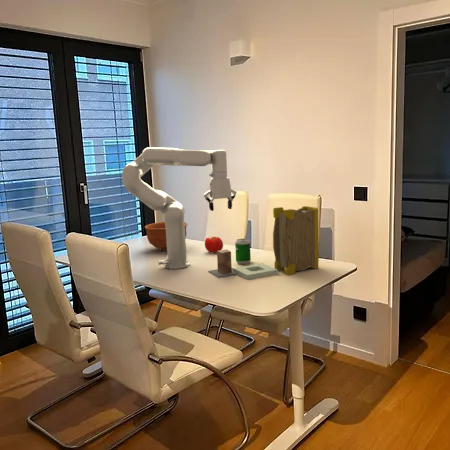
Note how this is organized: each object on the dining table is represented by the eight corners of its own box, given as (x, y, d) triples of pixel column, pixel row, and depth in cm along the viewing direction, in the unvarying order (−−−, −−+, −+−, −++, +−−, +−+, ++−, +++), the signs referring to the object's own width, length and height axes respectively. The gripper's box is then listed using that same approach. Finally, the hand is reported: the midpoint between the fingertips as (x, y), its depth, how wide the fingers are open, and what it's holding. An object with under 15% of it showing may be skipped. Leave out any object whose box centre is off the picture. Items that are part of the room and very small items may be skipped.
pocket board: (247, 279, 212) (247, 275, 212) (233, 272, 225) (233, 268, 225) (277, 273, 219) (277, 269, 219) (262, 267, 232) (262, 263, 231)
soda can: (252, 261, 243) (252, 238, 241) (247, 265, 237) (246, 241, 235) (239, 260, 246) (238, 238, 244) (233, 264, 240) (232, 241, 238)
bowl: (179, 255, 264) (177, 228, 262) (138, 253, 271) (136, 228, 269) (194, 245, 288) (193, 221, 285) (156, 244, 295) (155, 220, 292)
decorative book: (307, 264, 234) (306, 203, 228) (320, 269, 224) (320, 206, 218) (272, 270, 225) (270, 208, 220) (285, 275, 215) (283, 210, 210)
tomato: (206, 255, 261) (206, 240, 259) (203, 251, 271) (202, 236, 270) (225, 253, 263) (224, 238, 262) (221, 249, 274) (220, 234, 272)
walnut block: (222, 273, 221) (221, 252, 219) (217, 271, 225) (216, 250, 224) (231, 272, 223) (230, 251, 221) (227, 269, 227) (226, 249, 226)
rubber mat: (218, 278, 216) (218, 276, 216) (208, 272, 227) (208, 270, 227) (242, 273, 221) (241, 272, 221) (230, 268, 232) (230, 267, 232)
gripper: (205, 176, 227) (207, 212, 230) (238, 174, 233) (239, 209, 236) (200, 176, 233) (202, 210, 236) (232, 173, 240) (233, 207, 243)
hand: (220, 209), depth 236 cm, fingers open, 9 cm apart
